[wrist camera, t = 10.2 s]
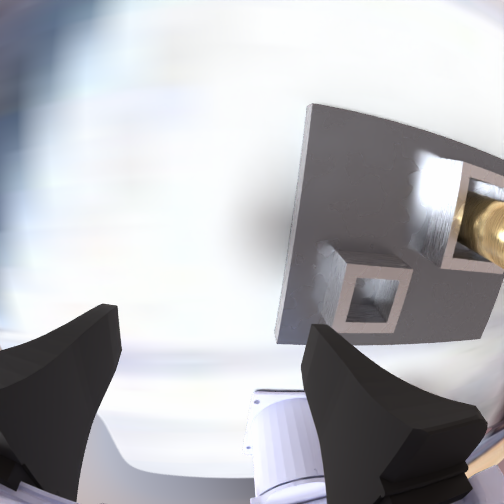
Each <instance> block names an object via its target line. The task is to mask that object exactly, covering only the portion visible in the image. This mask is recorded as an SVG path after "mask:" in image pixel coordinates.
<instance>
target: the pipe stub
mask: <svg viewBox="0 0 504 504" xmlns="http://www.w3.org/2000/svg"><path fill="white" fill-rule="evenodd" d="M457 242H458V243H460V244H462V245H463V246H465V247H467V248H469V249H470V250H472V251H474V252H476V253H477V254H479V255H481V256H483V257H484V258H486V259H488V260H489V261H491V262H493V263H494V264H496V265H498V266H499V267H501V268H502V269H504V202H502V201H500V200H497V199H494V198H491V197H488V196H485V195H482V194H478V193H475V192H472V191H467V196H466V201H465V207H464V211H463V216H462V221H461V225H460V229H459V234H458V238H457Z"/></svg>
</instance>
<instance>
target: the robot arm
mask: <svg viewBox="0 0 504 504" xmlns="http://www.w3.org/2000/svg"><path fill="white" fill-rule="evenodd" d="M121 351H122V347H121V338H120V329H119V319H118V307H117V306H116V305H109V304H101V305H99V306H97V307H95V308H93V309H91V310H89V311H88V312H86V313H84V314H82V315H81V316H79V317H77V318H75V319H74V320H72V321H70V322H68V323H67V324H65V325H63V326H61V327H59V328H57V329H55V330H53V331H51V332H49V333H48V334H46V335H43V336H41V337H39V338H37V339H34V340H32V341H29V342H27V343H24V344H21V345H18V346H15V347H11V348H8V349H5V350H1V351H0V504H79V503H76V500H77V492H78V491H77V490H78V484H79V478H80V472H81V467H82V461H83V457H84V453H85V448H86V444H87V440H88V437H89V433H90V429H91V426H92V423H93V420H94V418H95V415H96V413H97V410H98V408H99V406H100V404H101V401H102V399H103V397H104V395H105V393H106V391H107V388H108V386H109V384H110V382H111V380H112V378H113V375H114V373H115V371H116V368H117V365H118V362H119V358H120V355H121ZM301 372H302V379H303V386H304V390H305V392H254V393H253V394H252V397H251V403H250V410H249V416H248V422H247V428H246V434H245V440H244V445H243V454H244V455H253V466H254V480H255V494H256V497H255V498H251V499H250V504H504V475H503V473H502V472H501V470H500V469H499V467H498V465H494V466H492V467H489V468H487V469H485V470H483V471H481V472H478V473H476V474H474V475H473V476H471V477H470V478H469V479H468V478H467V477H466V475H465V472H467V470H468V465H467V464H466V462H465V460H466V459H467V458H468V457H469V456H470V454H471V453H472V452H473V451H474V449H475V448H476V447H477V446H478V444H479V443H480V442H481V440H482V439H483V437H484V435H485V433H486V430H487V422H486V420H485V419H484V417H483V416H482V414H481V413H480V412H479V410H478V409H477V407H476V406H474V405H469V404H465V403H461V402H457V401H453V400H449V399H446V398H443V397H440V396H437V395H434V394H431V393H429V392H426V391H424V390H422V389H419V388H417V387H415V386H413V385H411V384H409V383H407V382H405V381H403V380H401V379H399V378H398V377H396V376H394V375H393V374H391V373H389V372H388V371H386V370H384V369H383V368H381V367H380V366H379V365H377V364H376V363H374V362H373V361H372V360H370V359H369V358H368V357H366V356H365V355H364V354H362V353H361V352H360V351H359V350H357V349H356V348H355V347H354V346H353V345H351V344H350V343H349V342H348V341H347V340H346V339H344V338H343V337H342V336H341V335H340V334H338V333H337V332H336V331H335V330H334V329H332V328H331V327H330V326H328V325H327V324H311V328H310V332H309V336H308V340H307V344H306V348H305V352H304V356H303V360H302V364H301ZM256 400H259V401H256ZM101 504H104V503H101Z"/></svg>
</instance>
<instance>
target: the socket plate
mask: <svg viewBox="0 0 504 504" xmlns="http://www.w3.org/2000/svg"><path fill="white" fill-rule="evenodd" d="M467 191H472V192H475V193H478V194H482V195H485V196H488V197H491V198H494V199H497V200H500V201H502V202H504V160H502V159H500V158H498V157H495V156H493V155H490V154H488V153H486V152H483V151H481V150H478V149H476V148H473V147H470V146H468V145H465V144H462V143H460V142H457V141H454V140H451V139H448V138H446V137H443V136H440V135H437V134H434V133H431V132H427V131H424V130H421V129H418V128H415V127H411V126H408V125H404V124H401V123H397V122H394V121H390V120H386V119H382V118H378V117H375V116H370V115H366V114H362V113H358V112H353V111H349V110H344V109H339V108H335V107H330V106H324V105H319V104H313V103H312V104H310V105H308V106H307V111H306V119H305V128H304V136H303V144H302V152H301V160H300V168H299V176H298V183H297V190H296V198H295V205H294V212H293V219H292V226H291V233H290V239H289V246H288V253H287V259H286V266H285V272H284V278H283V285H282V291H281V297H280V303H279V309H278V315H277V321H276V327H275V337H276V342H277V344H294V345H306V344H307V340H308V336H309V332H310V328H311V324H327V325H328V326H330V327H331V328H332V329H334V330H335V331H336V332H337V333H338V334H340V335H341V336H342V337H343V338H344V339H346V340H347V341H348V342H349V343H350V344H351V345H395V344H418V343H435V342H450V341H462V340H473V339H480V338H481V336H482V333H483V331H484V329H485V326H486V324H487V322H488V319H489V317H490V314H491V312H492V309H493V306H494V304H495V301H496V298H497V296H498V293H499V290H500V287H501V284H502V281H503V278H504V269H502V268H501V267H499V266H498V265H496V264H494V263H493V262H491V261H489V260H488V259H486V258H484V257H483V256H481V255H479V254H477V253H476V252H474V251H472V250H470V249H469V248H467V247H465V246H463V245H462V244H460V243H458V242H457V238H458V234H459V229H460V225H461V221H462V216H463V211H464V207H465V201H466V196H467Z"/></svg>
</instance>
